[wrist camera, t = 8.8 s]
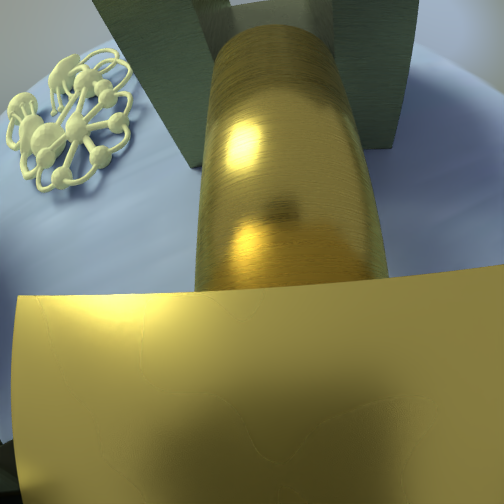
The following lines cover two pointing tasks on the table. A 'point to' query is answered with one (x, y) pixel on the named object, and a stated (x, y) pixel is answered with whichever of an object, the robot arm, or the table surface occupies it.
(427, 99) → the table surface
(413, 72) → the table surface
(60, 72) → the tangled rod sculpture
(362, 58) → the housing
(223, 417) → the end cover
